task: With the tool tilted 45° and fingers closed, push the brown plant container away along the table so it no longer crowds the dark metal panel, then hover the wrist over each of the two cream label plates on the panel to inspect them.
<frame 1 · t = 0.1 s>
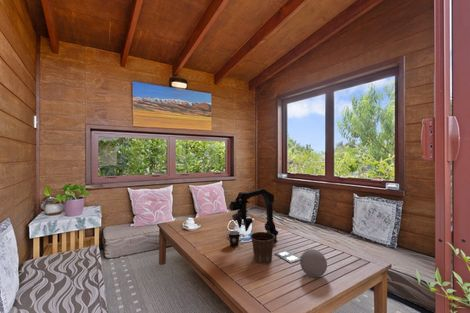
hand: (243, 229, 174), 15 cm above the table, tool pointing down, fingers open, 9 cm apart
coffee mug: (236, 245, 180), on the table
panel: (287, 256, 159), on the table
decorative ball: (313, 276, 135), on the table
plant pot: (263, 259, 156), on the table
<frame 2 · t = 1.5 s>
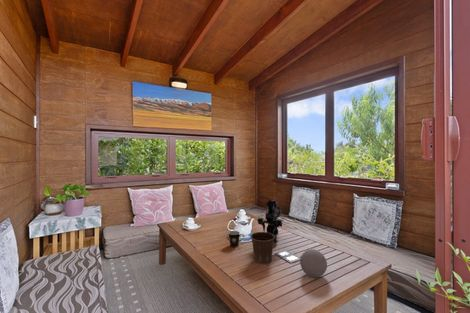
hand: (268, 232, 173), 13 cm above the table, tool tilted 45°, fingers open, 6 cm apart
nothing on the table moved.
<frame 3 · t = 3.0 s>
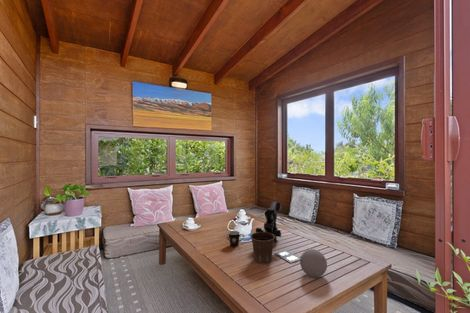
hand: (266, 243, 167), 7 cm above the table, tool tilted 45°, fingers closed
nothing on the table moved.
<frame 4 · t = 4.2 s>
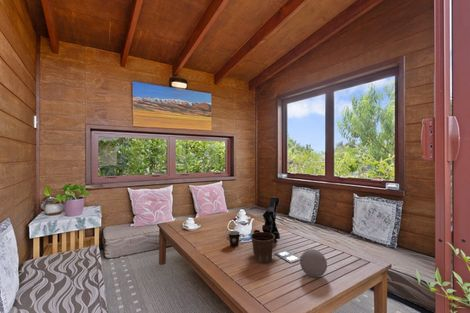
hand: (265, 245, 163), 7 cm above the table, tool tilted 45°, fingers closed
plant pot: (262, 259, 156), on the table, touching gripper
everything else where it was.
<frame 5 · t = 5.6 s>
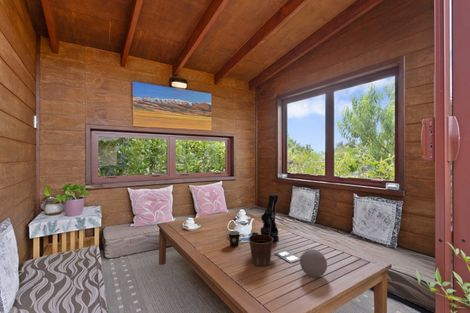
hand: (263, 248, 158), 7 cm above the table, tool tilted 45°, fingers closed
plant pot: (261, 262, 152), on the table, touching gripper
everything else where it was.
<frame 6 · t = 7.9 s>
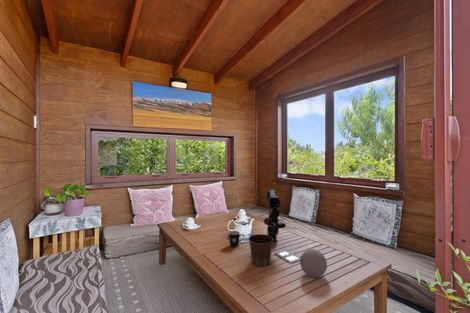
hand: (274, 234, 170), 12 cm above the table, tool pointing down, fingers closed
plant pot: (261, 263, 152), on the table
everything else where it was.
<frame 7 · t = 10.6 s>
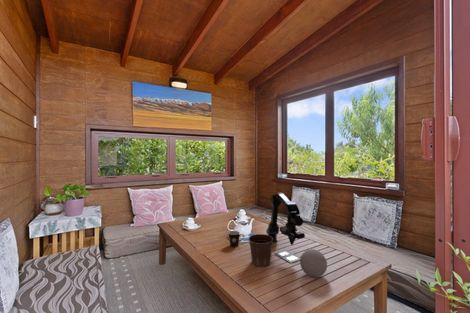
hand: (291, 244, 156), 10 cm above the table, tool pointing down, fingers closed
nothing on the table moved.
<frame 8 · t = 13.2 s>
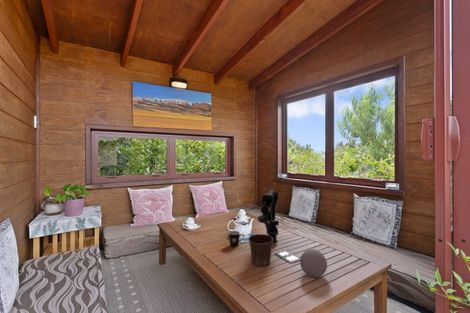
hand: (268, 231, 173), 13 cm above the table, tool pointing down, fingers closed
nothing on the table moved.
at the end: plant pot moved 4.8 cm from its start; plant pot inside the target area (5.2 cm from its centre), on the table; plant pot tilted 0° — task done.
